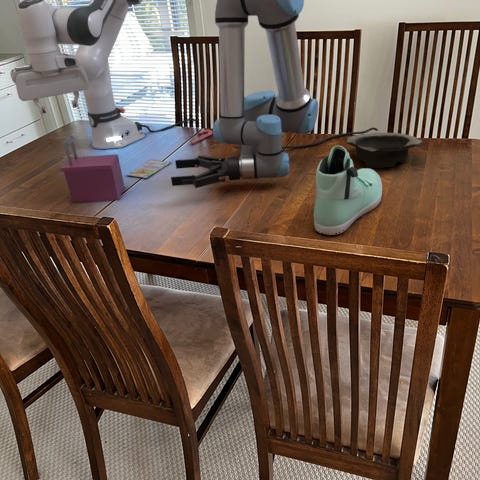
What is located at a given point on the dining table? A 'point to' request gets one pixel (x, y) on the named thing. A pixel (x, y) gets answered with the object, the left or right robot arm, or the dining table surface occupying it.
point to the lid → (86, 160)
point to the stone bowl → (382, 148)
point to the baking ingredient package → (148, 168)
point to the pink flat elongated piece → (202, 136)
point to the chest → (95, 184)
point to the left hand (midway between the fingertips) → (59, 110)
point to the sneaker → (343, 192)
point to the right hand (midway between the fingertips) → (173, 172)
